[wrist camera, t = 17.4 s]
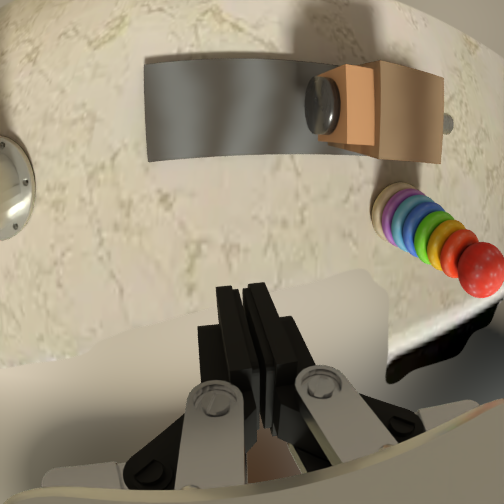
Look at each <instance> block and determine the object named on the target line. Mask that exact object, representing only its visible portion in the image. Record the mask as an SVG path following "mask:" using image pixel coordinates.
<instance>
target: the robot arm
mask: <svg viewBox="0 0 504 504" xmlns="http://www.w3.org/2000/svg"><path fill="white" fill-rule="evenodd" d="M34 201H35V181H34V175H33V171H32V167H31V164H30V162H29V160H28V157H27V156H26V154H25V153H24V151H23V150H22V148H21V147H20V146H19V145H18V144H17V143H16V142H14V141H13V140H11V139H9V138H7V137H4V136H0V241H4V240H7V239H10V238H12V237H13V236H15V235H16V234H18V233H19V232H20V231H21V230H22V229H23V228H24V226H25V225H26V224H27V222H28V220H29V218H30V216H31V213H32V210H33V207H34ZM216 297H217V309H218V320H219V324H216V325H206V326H198V343H199V344H198V345H199V360H200V374H201V383H200V384H199V385H197V386H196V387H194V388H193V389H192V391H191V392H190V393H189V396H188V398H187V403H186V409H185V413H184V414H183V415H182V416H181V417H180V418H179V419H177V420H176V421H175V422H174V423H173V424H171V425H170V426H169V427H168V428H167V429H166V430H164V431H163V432H162V433H161V434H160V435H158V436H157V437H156V438H155V439H153V440H152V441H151V442H150V443H148V444H147V445H146V446H145V447H143V448H142V449H141V450H140V451H138V452H137V453H136V454H135V455H133V456H132V457H131V458H130V459H129V460H128V461H127V462H126V463H121V464H117V463H116V462H115V461H114V462H107V463H99V464H92V465H82V466H71V467H59V468H54V469H51V470H50V471H48V472H47V473H46V474H45V475H44V477H43V479H42V484H41V488H35V489H31V490H26V491H24V492H21V493H18V494H15V495H13V496H11V497H10V498H9V499H7V500H6V502H5V503H4V504H504V398H503V399H498V400H495V401H491V402H488V403H486V404H483V405H481V406H480V405H479V404H478V403H476V402H475V401H472V400H462V401H458V402H453V403H448V404H444V405H439V406H434V407H429V408H423V409H419V410H418V411H417V413H414V412H412V411H410V410H407V409H405V408H402V407H398V406H395V405H392V404H389V403H386V402H383V401H380V400H377V399H374V398H371V397H368V396H365V395H363V394H360V393H358V392H357V391H356V389H355V388H354V387H353V386H352V384H351V383H350V382H349V381H348V380H347V378H346V377H345V376H344V375H343V374H342V373H341V372H340V371H339V370H337V369H335V368H333V367H330V366H326V365H315V363H314V361H313V358H312V356H311V354H310V352H309V350H308V348H307V346H306V344H305V342H304V340H303V338H302V336H301V333H300V332H299V329H298V327H297V325H296V323H295V321H294V319H293V318H292V316H286V317H279V315H278V313H277V311H276V308H275V306H274V303H273V301H272V299H271V297H270V294H269V292H268V289H267V287H266V285H265V283H264V282H262V283H252V284H248V288H243V305H242V301H241V298H240V294H239V290H238V289H232V286H221V287H216ZM259 413H260V415H261V419H262V423H263V427H264V428H270V430H271V434H272V436H277V437H278V438H279V439H282V440H283V441H286V442H287V445H288V448H289V450H290V452H291V454H292V456H293V458H294V460H295V462H296V464H297V465H298V467H299V469H300V471H301V473H302V474H300V475H296V476H291V477H286V478H281V479H276V480H270V481H265V482H259V483H252V484H247V454H246V453H247V452H248V451H249V449H250V448H251V447H252V446H253V445H254V444H255V443H256V442H257V430H258V429H259Z"/></svg>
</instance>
